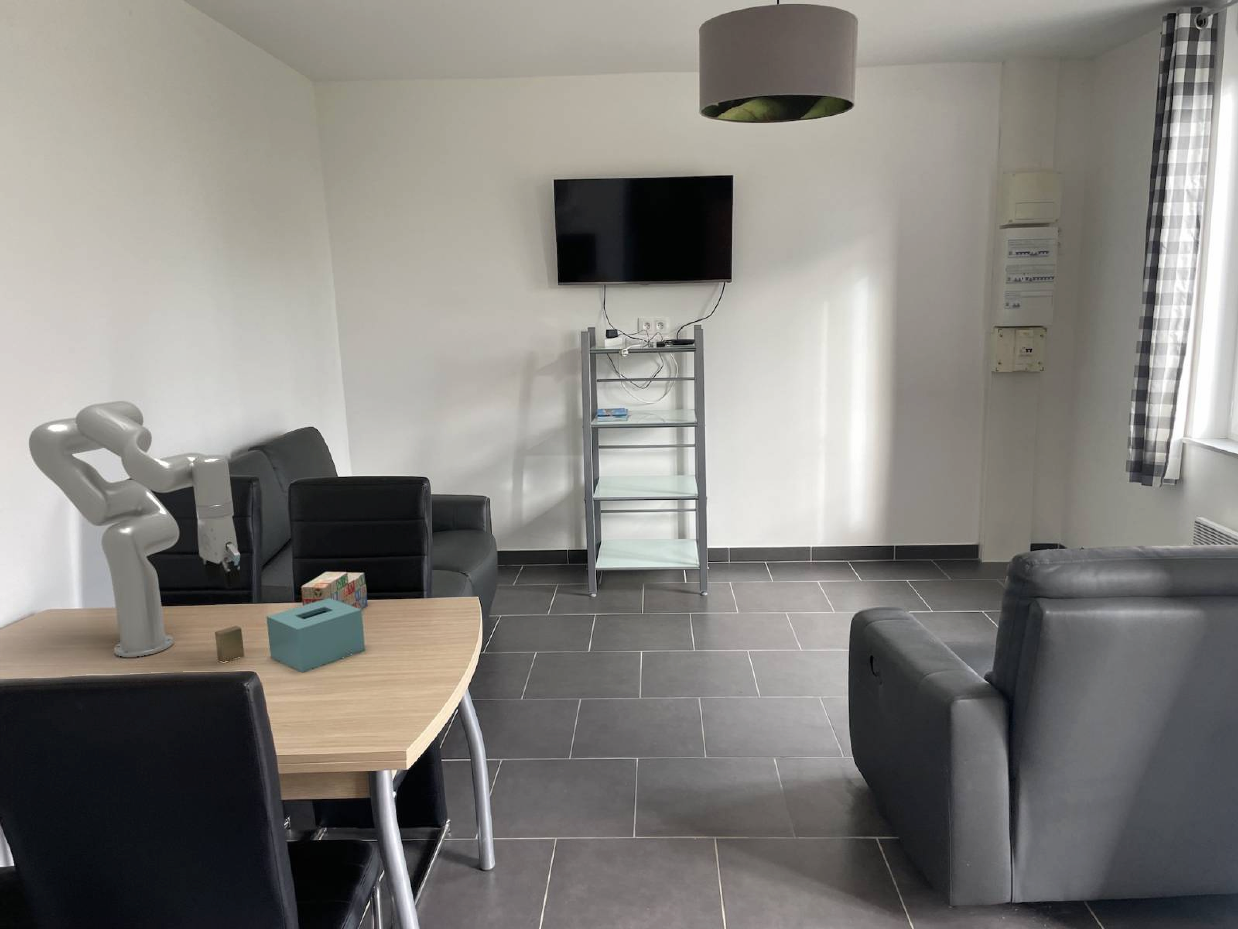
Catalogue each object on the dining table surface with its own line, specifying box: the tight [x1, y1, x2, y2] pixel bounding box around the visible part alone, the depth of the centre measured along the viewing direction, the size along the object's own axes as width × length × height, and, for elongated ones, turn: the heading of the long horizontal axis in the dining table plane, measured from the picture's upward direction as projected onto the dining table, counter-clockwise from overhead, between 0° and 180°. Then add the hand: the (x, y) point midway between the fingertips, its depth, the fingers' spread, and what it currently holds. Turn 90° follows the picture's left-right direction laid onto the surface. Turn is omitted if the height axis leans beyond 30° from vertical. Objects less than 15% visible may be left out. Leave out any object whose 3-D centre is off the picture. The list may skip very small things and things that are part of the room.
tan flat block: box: [214, 625, 245, 662], centre depth 205 cm, size 2×5×7 cm, turn 138°
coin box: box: [266, 598, 366, 673], centre depth 206 cm, size 14×16×10 cm
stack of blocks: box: [301, 571, 368, 610], centre depth 230 cm, size 21×6×12 cm, turn 169°
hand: (223, 583), depth 203 cm, fingers open, 9 cm apart
